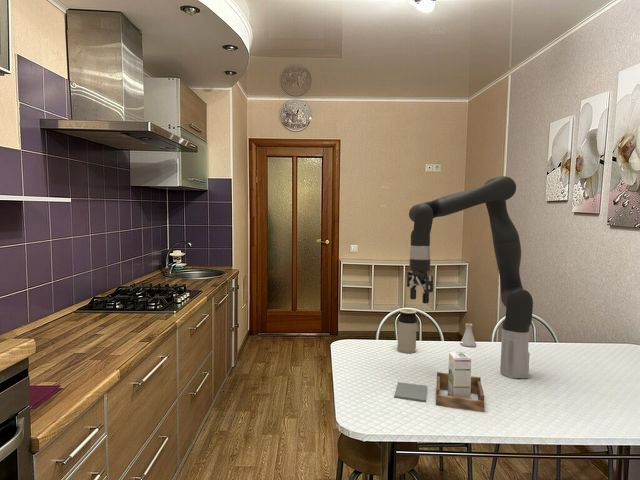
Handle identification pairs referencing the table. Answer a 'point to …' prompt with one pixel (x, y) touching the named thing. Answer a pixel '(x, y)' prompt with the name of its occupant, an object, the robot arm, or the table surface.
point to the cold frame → (457, 401)
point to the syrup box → (459, 375)
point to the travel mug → (407, 331)
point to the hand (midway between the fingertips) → (419, 301)
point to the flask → (468, 337)
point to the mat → (411, 392)
